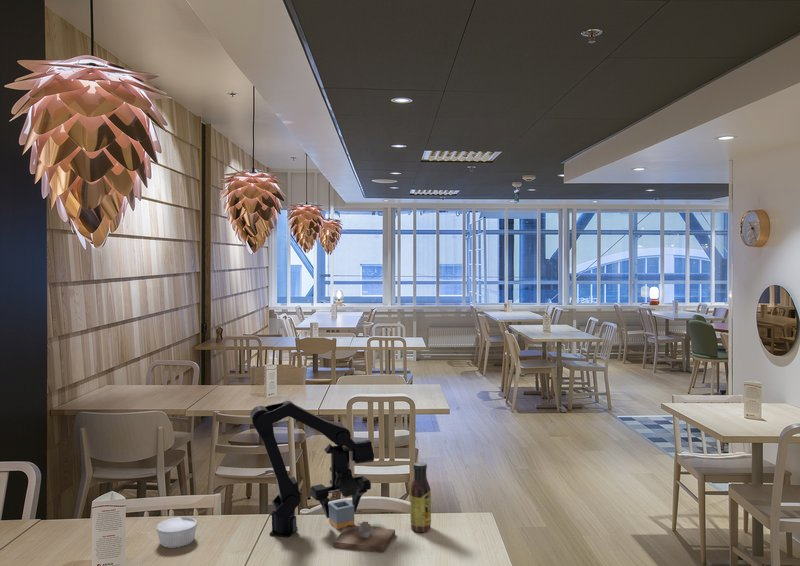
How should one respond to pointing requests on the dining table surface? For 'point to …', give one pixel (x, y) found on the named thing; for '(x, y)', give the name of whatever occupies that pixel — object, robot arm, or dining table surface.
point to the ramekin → (176, 531)
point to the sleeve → (341, 514)
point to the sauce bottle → (420, 499)
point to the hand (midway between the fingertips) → (341, 514)
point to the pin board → (364, 538)
